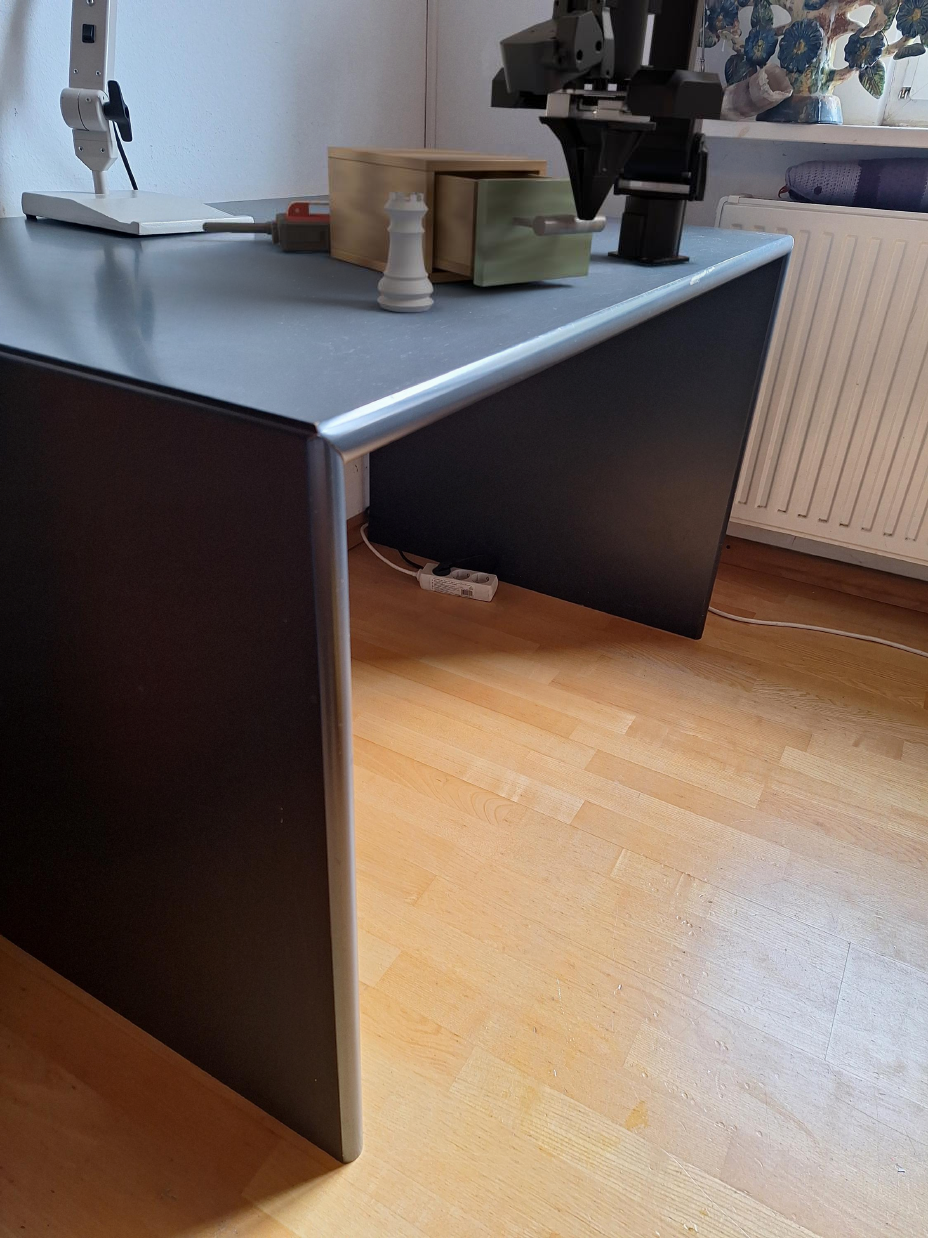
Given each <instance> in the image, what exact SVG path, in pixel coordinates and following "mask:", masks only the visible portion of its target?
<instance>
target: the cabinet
mask: <svg viewBox="0 0 928 1238" xmlns="http://www.w3.org/2000/svg"><path fill="white" fill-rule="evenodd" d="M326 149H327V178H328V179H327V181H328V201H329V205H328V207H329V208H328V209H329V214H330V242H331V252H330V257H331V258H333V259H336V260H338V261H339V260H340V261H343V262H347V263H350V264H353V265H357V266H359V267H364V268H366V269H367V268H368V269H371V270H373V271H374V270H375V271H377V272H381V273H383V272H384V271H385V270H386V267H387V263H388V256H389V248H390V233H389V232H388V230H387V229H388V227H389V226H390V222H391V220H390V216H389V214H388V213H387V211H386V209H385V208H384V206H385V205H386V203H387V202H388V200H389V192H395V194H396V192H403V195H404V197H408V192H415V195H417V193H422V194H423V202H424V203H425V205H426V206H427V208H428V210H427V212H426V214H425V215H424V217H423V218H422V228H423V229H424V231H425V232H424V233H423V235H422V252H423V262H424V267H425V272H426V273H428V277H427V278H428V280H429V281H430V282H431V284H440V283H441V284H442V283H450V282H459V281H469V280H474V276H473V277H469V276H466V275H462V274H458V273H454V272H450V271H447V270H443V269H439V268H435V267H432V254H433V211H434V171H513V172H521V173H528V174H536V175H544V176H547V164H548V160H547V159H541V158H531V157H524V156H515V155H505V154H497V153H488V152H479V151H471V150H462V149H453V148H444V147H436V148H435V147H371V146H370V147H368V146H367V147H365V146H364V147H362V146H361V147H359V146H350V147H349V146H328V147H327V148H326Z"/></svg>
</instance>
